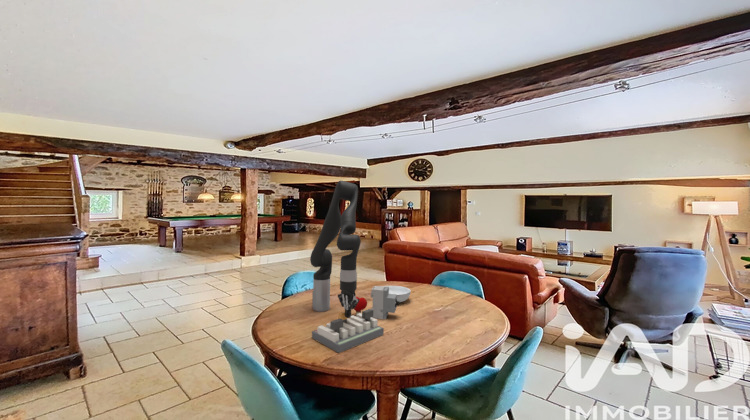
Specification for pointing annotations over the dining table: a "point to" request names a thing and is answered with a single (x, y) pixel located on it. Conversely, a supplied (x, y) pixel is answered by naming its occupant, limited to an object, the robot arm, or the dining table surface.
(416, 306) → the dining table surface
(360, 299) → the red plush heart
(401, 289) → the serving bowl
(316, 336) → the breaker panel
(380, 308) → the circuit breaker
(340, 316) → the handle
